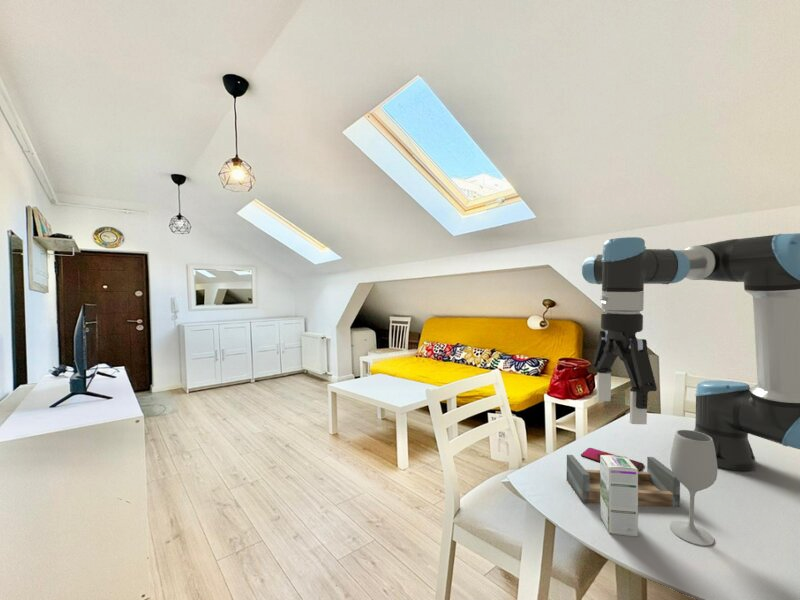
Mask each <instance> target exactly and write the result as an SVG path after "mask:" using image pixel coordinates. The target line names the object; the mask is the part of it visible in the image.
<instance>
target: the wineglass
mask: <svg viewBox="0 0 800 600" xmlns="http://www.w3.org/2000/svg"><path fill="white" fill-rule="evenodd" d="M672 440H673V441H672V445H671V450H670V458H669V461H670V462H669V464H670V470H671V471H672V472H673V474H674V475H675V477H676V478H677V479H678V480H679V481H680V484H682V486H684V487H685V488H686V489H687V490H688V492H689V515H688V516H689V519H688V522H687V521H678V520H676V521H675V520H674V521H672V522H670V524H669V529H670V531H671V532H672V533H673V535H675V536H676V537H677V538H679V539H681V540H683V541H684V542H687V543H690V544H692V545H695V546H700V547H710V546H713V544H714V543H715V539H714V537H713V535H712V534H711V533H709V532H708V531H707V530H706V529H704V528H702V527H701V526H699V525H696V524H695V496H696V493H697V492H700V491H703V490H706V489H708V488H710V487H711V486H713V485H714V483H715V482H716V481H717V477H718V469H719V467H717V458H716V452H715V446H714V442H713V439H712V438H711V437H710V436H708V435H706V434H704V433H700V432H697V431H694V430H689V429H677V430H676V432H675V435H674V437H673V439H672Z"/></svg>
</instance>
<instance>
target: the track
mask: <svg viewBox="0 0 800 600" xmlns="http://www.w3.org/2000/svg"><path fill="white" fill-rule="evenodd" d="M646 461H647V462H646V463H647V464H646V465H647V466H646V471H640V472H639V471H638V506H646V507H647V506H649V507H650V506H652V507H653V506H654V507H675V508H676V507H678V508H679V507H680V506H681V502H680V501H681V482H680V481H679V480H678V479H677V478H676V477H675V475H674V474H673V472H672V469H671V468H668V467H667V466H666V465H664V464H663V463H662V462H661V461H660V460H658V459H657V458H656V457H654V456H647V458H646ZM567 481H568V482H567ZM566 482H567V483H568V484H569V486H570V485H571V486H570V487H571V489H572V490H573V492H574V491H575V492H574V493H575V495H576V496H577V497H578V498H579V500H580V502H581V503H582V504H597V505H600V470H599V469H585V468H584V466H583V465H582V464H581V463H580V462H579V461H578V459H577V458H576V457H575V456H574V455H573V454H566Z"/></svg>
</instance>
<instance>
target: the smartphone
mask: <svg viewBox="0 0 800 600" xmlns="http://www.w3.org/2000/svg"><path fill="white" fill-rule="evenodd" d="M601 455H616V456H618V455H617V454H614V453H609V452H606V451H603V450H600V449H596V448H592V447H588V448H587V449H585V450H584V451H583V452H582V453H581V454H580V457H582V458H585V459H587V460H590V461H593V462H596V463H599V464H600V456H601ZM628 459H629V460H630V461H631V462H632V464H633V465H634V466H635V467H636V468H637V469H638V471H639V472H642V470H643V468H644V467H645V465H644V463H643V462H641V461H640V462H639V461H637V460H633V459H630V458H628Z"/></svg>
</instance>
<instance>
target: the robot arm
mask: <svg viewBox="0 0 800 600" xmlns="http://www.w3.org/2000/svg"><path fill="white" fill-rule="evenodd" d="M602 246H603V248H602V254H597V255H590V256H588V257H587V258H585V260H584V261H583V262H582V265H581V275H582V278H583V279H584V280H585V281H586V282H587V283H589V284H592V285H594V284H596V285H601V296H600V297H599V299H600V301H601V309H602V311H603V312H602V313H601V315H600V328H601V329H602V330H599V334H598V335H599V337H598V342H597V346H596V349H595V353H594V357H593V360H592V364H591V365H592V368H595V371H596V373H597V377H596V379H597V382H596V386H597V387H596V400H597V401H598V402H611V399H612V398H611V397H612V394H611V392H612V391H611V390H612V372H613V371H612V369H611V368H612V366H613V365H614V363H615V361H616V360H617V358H619V360H621V361H622V362H623V364H624V367H625V370H626V372H627V375H628V378H629V380H630V383H631V386H632V387H631V388H630V389H629V391H630V393H629V394H630V397H629V403H630V404H629V423H630V425H647V421H648V418H647V417H648V401H649V400H648V398H649V396H648V394H649V393H650V392H657V389H658V388H657V384H656V380H655V377H654V373H653V369H652V365H651V361H650V357H649V353H648V343H647V339H645V338H637V336H636V335H637V333H641V332H642V331H643V330H644V315H643V314H642V313H641V312H643V311H644V304H645V303H644V302H645V301H644V297H645V296H644V295H645V294H644V293H645V292H644V288H645V285H654V284H655V285H670V284H676V283H679V282H681V281H683V280H684V279H685V278H686V279H688V280H691V281H701V280H702V281H716V282H717V281H718V282H727V283H728V282H730V283H731V282H733V283H743V289H744V291H745V292H746V293H748V294H749V295H751V297H752V303H753V305H752V306H753V323H754V339H755V340H754V341H755V342H754V343H755V358H756V378H757V384H755V385H754V386H752V387H750V384H749V383H746V382H742V381H735V380H733V381H731V380H703V381H700V382H698V383H697V385H696V390H695V391H696V392H695V421H694V422H695V424H694V425H695V426H694V430H693V431H697V432H700V433H704V434H706V435H708V436H710V437H711V438H712V439H713V442H714V446H715V452H716V458H717V468H719V469H724V470H730V471H737V472H748V471H749V472H750V471H753V470H754V469H756V464H757V463H756V460H757V459H756V457H755V455H754V452H753V448H752V446H751V444H750V441H749V439H748V438H749V437H748V436H749V435H751V436H755V437H758V438H761V439H764V440H768V441H770V442H773V443H776V444H779V445H782V446H783V447H790V448H794V449H796V450H800V233H799V232H798V233H777V234H770V235H762V236H755V237H754V236H753V237H752V236H751V237H744V238H734V239H732V238H731V239H728V240H726V239H725V240H723V241H721V240H720V241H716V242H712V243H707V244H700V245H691V246H688V247H687V248H685V249H677V250H675V249H671V248H666V249H664V248H663V249H659V248H655V249H654V248H647V247H646V241H645V240H644V238H642V237H639V236H636V237H635V236H630V237H629V236H627V237H625V236H624V237H618V238H617V237H616V238H615V237H614V238H611V239H610V238H609V239H607V240H606V241H605V242H604V243H603V245H602Z"/></svg>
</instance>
